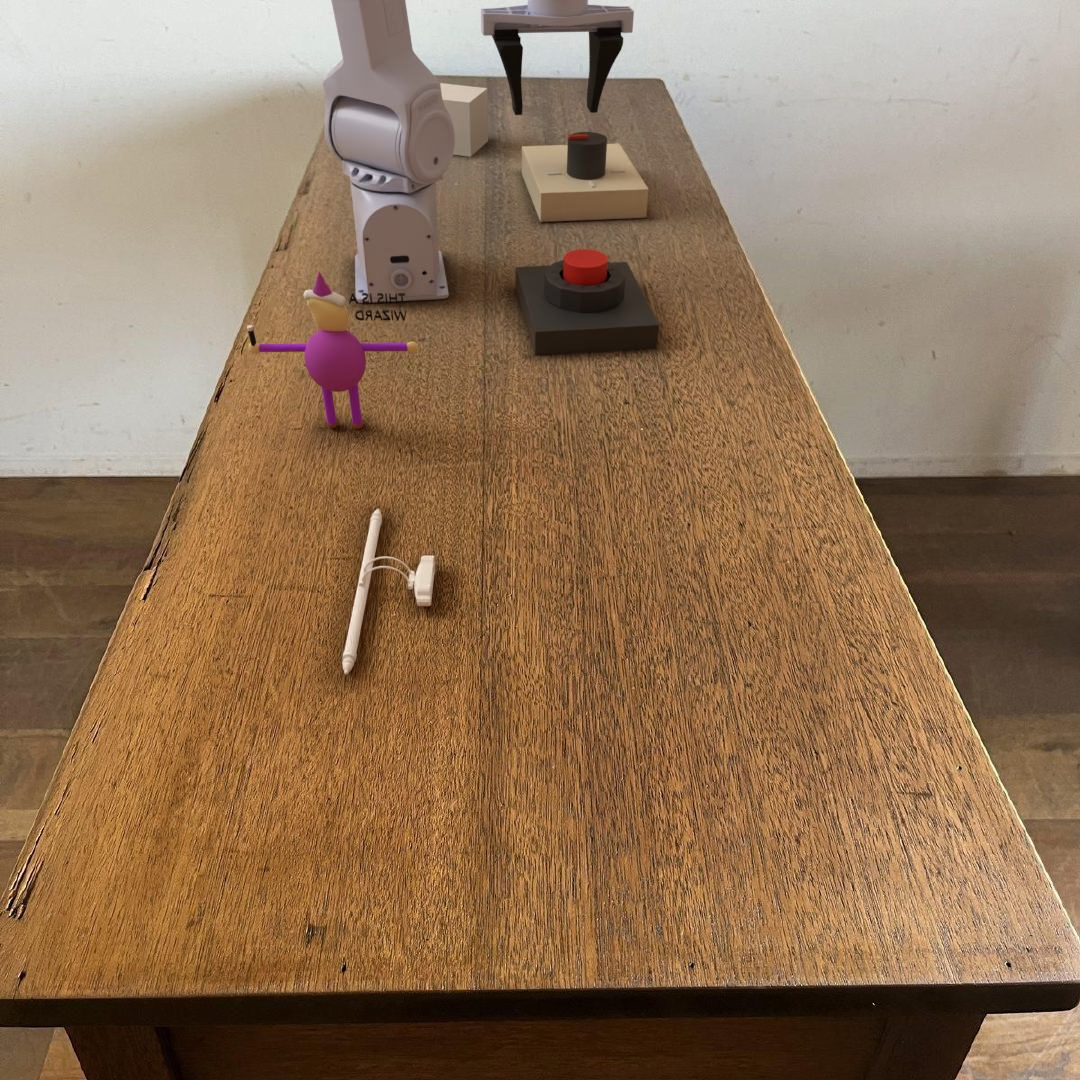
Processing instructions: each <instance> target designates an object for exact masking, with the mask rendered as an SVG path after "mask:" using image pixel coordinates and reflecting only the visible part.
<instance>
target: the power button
mask: <svg viewBox="0 0 1080 1080" xmlns="http://www.w3.org/2000/svg"><path fill="white" fill-rule="evenodd" d="M563 260H564V266H563V278H564V280H565V281H567V282H569V283H572V284H577V285H582V286H587V285H598V284H601V283H604V282H605V281H606V279H607V265H608V262H609V258H608V256H607V255H606V254H605V253H603V252H601V251H599V250H596V249H589V248H588V249H587V248H580V249H579V248H578V249H574V250H571V251H568V252H566V253H565V255H564V256H563Z"/></svg>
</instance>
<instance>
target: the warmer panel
mask: <svg viewBox="0 0 1080 1080" xmlns="http://www.w3.org/2000/svg"><path fill="white" fill-rule="evenodd" d="M567 150H568V144H555V145H524V146H523V145H522V146H521V175H522V178H523V180H524V183H525V186H526V189H527V191H528V193H529V196H530V199H531V202H532V204H533V207H534V209H535V213H536V214H537V217H538V219H539V222H540V223H549V222H573V221H598V220H599V221H600V220H621V219H623V220H624V219H625V220H626V219H646V218H647V210H648V200H649V199H648V198H649V187H648V186H647V185H646V183H645V181H644V179H643V178H642V177H641V175H640V173H639V172H638V170H637V169H636V167H635V166H634V164H633V162H632V161H631V159H630V158H629V156H628V155H627V153H626V152H625V150H624V148H623V147H622V145H621V144H620V143H618V142H617V143H616V142H615V143H607V152H606V168H605V175H604V176H602V177H600V178H597V179H578V178H574V177H571V176H570V175H568V174H567Z"/></svg>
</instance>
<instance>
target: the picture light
mask: <svg viewBox="0 0 1080 1080" xmlns="http://www.w3.org/2000/svg"><path fill="white" fill-rule="evenodd" d="M382 524H383V515H382V511H381V509H380V508H376V510H374V512H373V513H372V514H371V516H370V519H369V527H368V532H367V538H366V543H365V547H364V553H363V557H362V563H361V566H360V567H361V568H360V573H359V578H358V582H357V587H356V592H355V596H354V602H353V607H352V611H351V616H350V621H349V627H348V632H347V637H346V641H345V647H344V650H343V652H342V657H341V660H342V662H341V664H342V670H343V671H344V672H343V673H344V675H349V673H350V672H351V671H352V669H353V667H354V666H355V663H356V661H357V656H358V654H357V652H358V648H359V647H358V646H359V643H360V642H359V641H360V635H361V631H362V625H363V621H364V620H363V619H364V615H365V609H366V604H367V599H368V595H369V594H368V593H369V588H370V583H371V578H372V572H373V571H375V570H379V569H388V570H392V571H396V572H397V573H399V574H401V575H402V576H403V577H404V578H405V581H407V590H409V591H411V590H413V589H414V596H415V600H416V606H417V607H430V606H431V605H432V597H433V590H434V589H433V588H434V579H435V573H436V555H422V556H421V557H420V562H419V564H418V566H417V569H416V571H414V570H411V568H410V567H409V566H408V565H407V563H405V562H404V561H402V560H401V559H399V558H396V557H393V556H387V555H386V556H385V555H384V556H377V557H375V556H376V552H377V546H378V541H379V535H380V531H381V527H382ZM382 559H383V560H384V559H386V560H387V559H388V560H392V561H396V562H398V563H400V564H401V565H403V566H404V567H405V568H406V570H407V571H408V574H409V575H408V576H407V575H406V574H405V573H404V572H403V571H401V570H400V569H398V568H396V567H393V566H390V565H389V566H388V565H378V566H374V563H375V561H378V560H382Z"/></svg>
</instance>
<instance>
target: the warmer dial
mask: <svg viewBox="0 0 1080 1080" xmlns="http://www.w3.org/2000/svg"><path fill="white" fill-rule="evenodd" d="M607 144H608V138H607V136H606V135H604V134H602V133H598V132H593V131H579V132H574V133H570V134H568V135H567V145H568V150H567V174H568V175H570V176H571V177H574V178H578V179H597V178H600V177H602V176H604V175H605V168H606V152H607Z"/></svg>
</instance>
